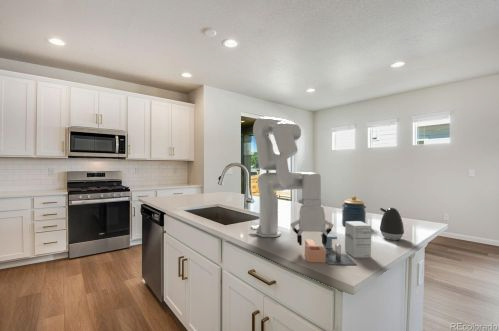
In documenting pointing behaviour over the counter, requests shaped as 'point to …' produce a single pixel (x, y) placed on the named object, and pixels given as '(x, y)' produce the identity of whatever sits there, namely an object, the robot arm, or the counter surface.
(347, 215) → the canister
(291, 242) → the counter surface
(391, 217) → the pump dispenser
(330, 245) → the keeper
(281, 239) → the counter surface
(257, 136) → the robot arm
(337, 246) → the pintle station
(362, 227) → the supplement box
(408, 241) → the counter surface
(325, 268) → the counter surface
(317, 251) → the link
